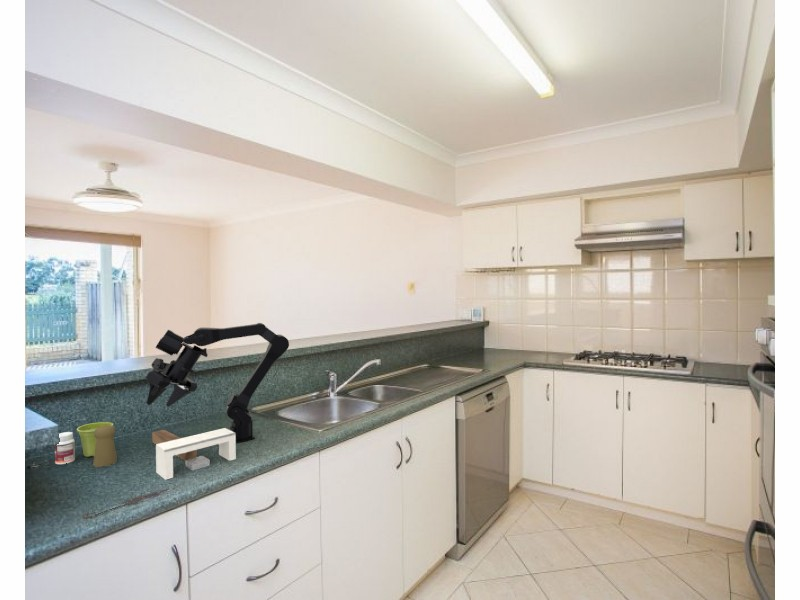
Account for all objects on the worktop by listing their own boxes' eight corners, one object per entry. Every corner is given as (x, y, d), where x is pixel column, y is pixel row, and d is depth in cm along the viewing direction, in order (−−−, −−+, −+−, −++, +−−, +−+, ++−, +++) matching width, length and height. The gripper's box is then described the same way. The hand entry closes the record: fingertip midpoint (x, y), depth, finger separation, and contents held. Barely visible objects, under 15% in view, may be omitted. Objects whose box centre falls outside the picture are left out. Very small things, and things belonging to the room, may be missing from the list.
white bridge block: (225, 453, 139) (224, 427, 139) (235, 458, 135) (235, 432, 134) (156, 472, 125) (155, 444, 125) (165, 479, 120) (164, 450, 120)
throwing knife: (80, 515, 102) (80, 513, 102) (172, 486, 117) (172, 484, 117) (85, 522, 99) (85, 519, 99) (178, 491, 114) (178, 489, 114)
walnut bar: (163, 441, 151) (163, 429, 151) (196, 458, 136) (196, 445, 136) (152, 443, 149) (152, 432, 149) (185, 461, 133) (185, 448, 133)
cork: (113, 457, 136) (112, 422, 136) (120, 462, 132) (119, 425, 132) (90, 463, 131) (89, 426, 131) (97, 468, 128) (96, 431, 127)
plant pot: (104, 446, 146) (103, 420, 146) (119, 451, 141) (119, 424, 141) (71, 455, 138) (71, 427, 138) (86, 461, 133) (86, 433, 133)
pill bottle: (58, 459, 134) (57, 432, 134) (77, 457, 136) (76, 430, 136) (52, 465, 130) (51, 437, 130) (71, 463, 131) (71, 435, 131)
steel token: (202, 462, 133) (202, 455, 133) (209, 466, 130) (209, 459, 130) (185, 467, 130) (185, 460, 130) (192, 471, 126) (192, 464, 126)
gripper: (185, 355, 156) (159, 395, 153) (148, 345, 139) (118, 390, 136) (208, 370, 153) (183, 411, 150) (174, 362, 136) (144, 408, 133)
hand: (158, 405), depth 142 cm, fingers open, 9 cm apart
